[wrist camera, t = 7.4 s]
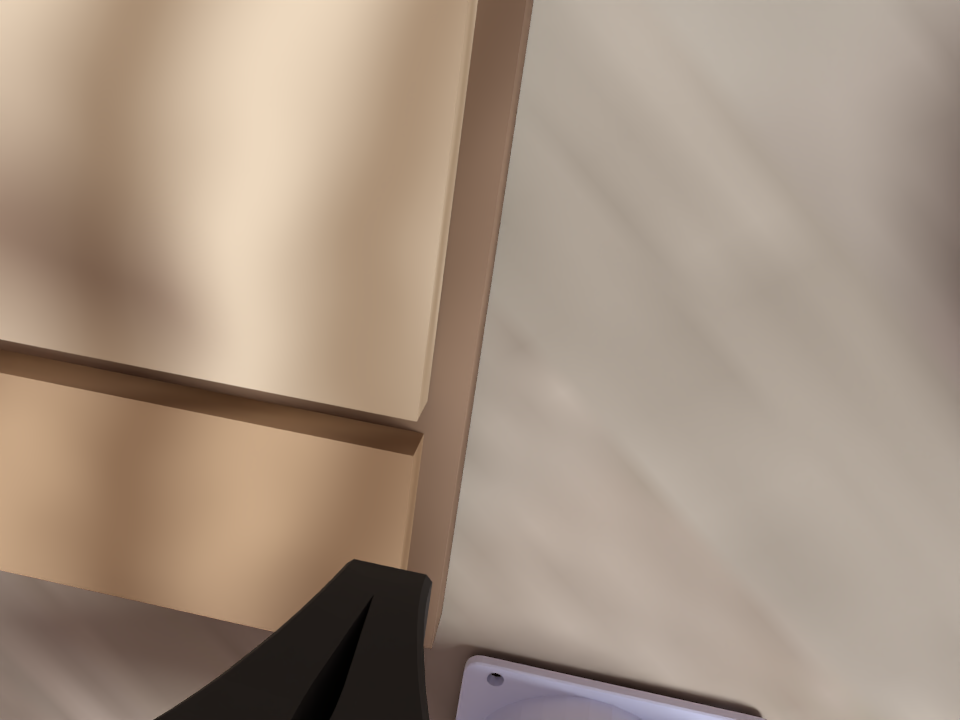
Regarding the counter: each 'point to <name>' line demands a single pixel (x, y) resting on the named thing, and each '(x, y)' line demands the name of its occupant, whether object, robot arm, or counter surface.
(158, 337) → the oak plank
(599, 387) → the counter surface
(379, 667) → the robot arm
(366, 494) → the board
